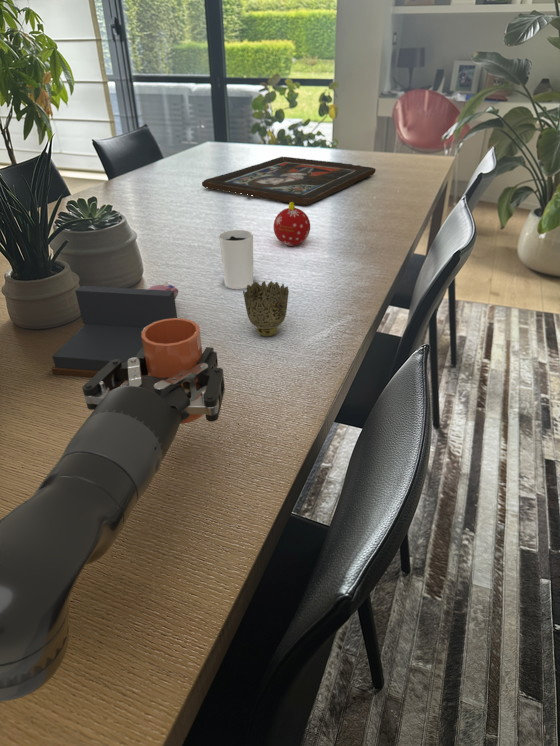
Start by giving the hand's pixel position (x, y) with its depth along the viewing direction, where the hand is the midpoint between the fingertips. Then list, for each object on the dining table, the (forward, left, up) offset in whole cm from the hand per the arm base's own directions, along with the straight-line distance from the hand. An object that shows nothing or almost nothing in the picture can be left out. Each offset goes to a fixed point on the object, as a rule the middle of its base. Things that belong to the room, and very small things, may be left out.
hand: (182, 352), depth 62 cm
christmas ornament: (0, +74, -14) cm, 76 cm away
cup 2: (+3, +30, -14) cm, 34 cm away
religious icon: (-10, +132, -14) cm, 133 cm away
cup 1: (0, -2, -6) cm, 6 cm away
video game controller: (-19, +34, -14) cm, 42 cm away
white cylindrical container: (-7, +50, -14) cm, 53 cm away
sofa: (-19, +19, -14) cm, 30 cm away
